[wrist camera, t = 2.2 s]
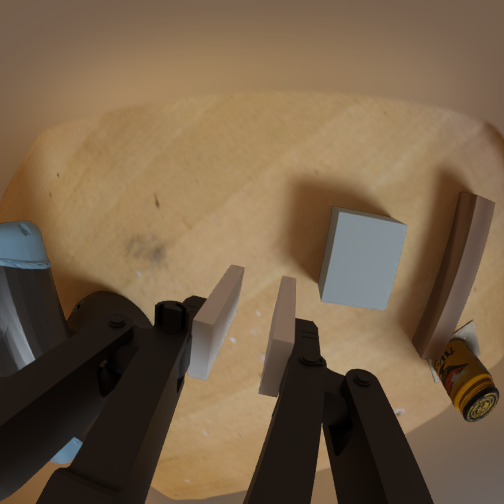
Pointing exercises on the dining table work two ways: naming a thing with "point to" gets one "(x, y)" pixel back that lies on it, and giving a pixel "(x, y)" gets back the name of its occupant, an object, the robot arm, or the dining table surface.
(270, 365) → the robot arm
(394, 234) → the block
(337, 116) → the dining table surface
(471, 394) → the condiment
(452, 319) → the board
